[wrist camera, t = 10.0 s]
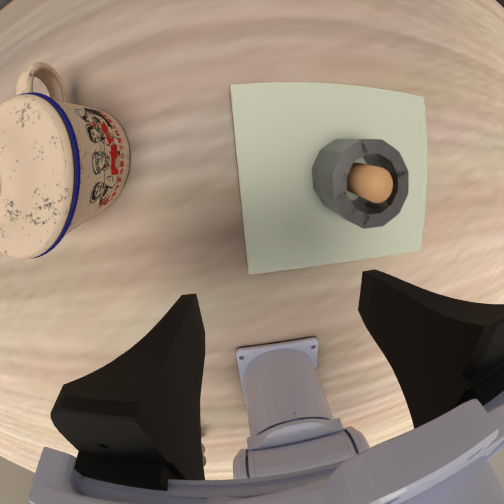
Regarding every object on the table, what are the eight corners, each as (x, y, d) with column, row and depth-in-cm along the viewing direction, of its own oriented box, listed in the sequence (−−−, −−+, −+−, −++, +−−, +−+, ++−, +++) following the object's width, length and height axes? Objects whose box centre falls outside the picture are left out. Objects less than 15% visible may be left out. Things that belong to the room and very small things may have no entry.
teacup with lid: (144, 206, 19) (67, 274, 9) (53, 226, 19) (-36, 290, 8) (125, 58, 15) (42, -2, 4) (34, 96, 14) (-64, 90, 4)
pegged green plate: (414, 246, 23) (450, 271, 18) (247, 269, 22) (255, 306, 17) (416, 97, 18) (459, 93, 13) (229, 87, 17) (231, 67, 12)
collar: (379, 208, 20) (407, 223, 16) (314, 216, 20) (334, 232, 16) (377, 139, 18) (407, 140, 14) (309, 140, 18) (329, 139, 14)
